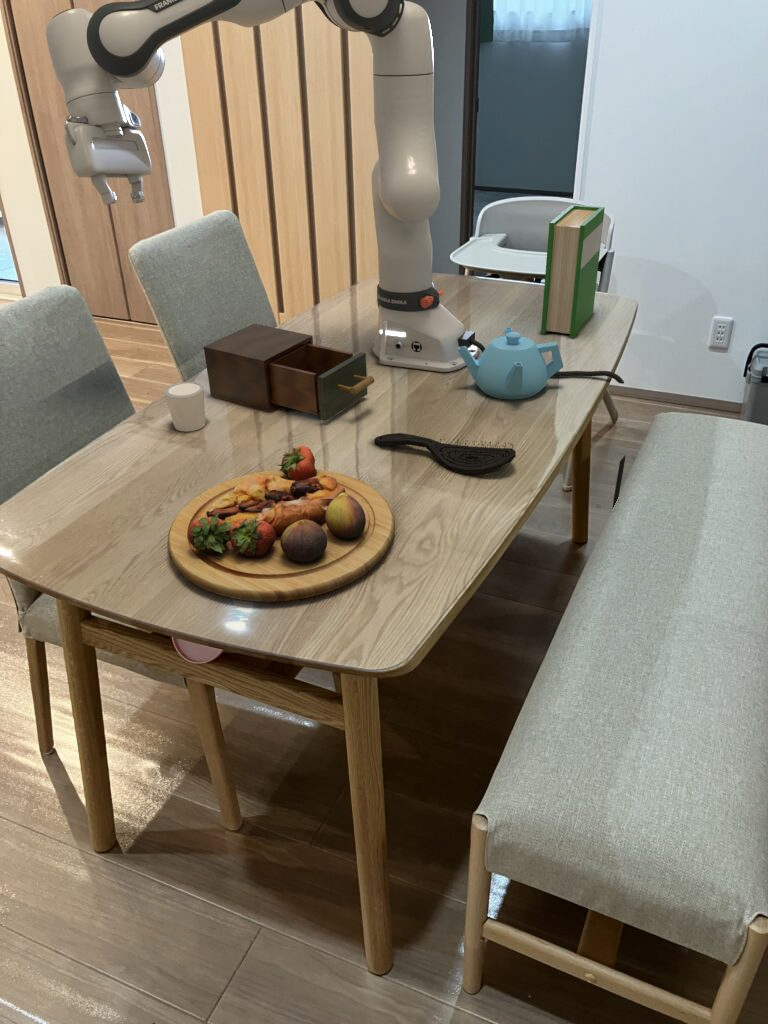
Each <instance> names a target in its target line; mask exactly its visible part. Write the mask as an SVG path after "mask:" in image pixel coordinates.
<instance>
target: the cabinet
mask: <svg viewBox="0 0 768 1024" xmlns="http://www.w3.org/2000/svg"><path fill="white" fill-rule="evenodd" d="M305 343H309V344H314V338H313V335H311V334H307V333H301V332H297V331H294V330H293V331H292V330H288V329H283V328H278V327H273V326H269V325H263V324H259V323H254V322H253V323H251V324H249V325H247V326H245V327H243V328H241V329H239V330H237V331H235V332H233V333H230V334H228V335H226V336H224V337H221V338H220V339H217V340H214V341H213V342H211V343H208V344H206V345H204V346H203V352H204V353H203V354H204V358H205V367H206V372H207V379H208V387H209V392H210V397H213V398H217V399H220V400H224V401H227V402H232V403H235V404H238V405H241V406H246V407H249V408H252V409H257V410H261V411H264V412H266V413H267V412H268V413H270V412H272V411H273V410H275V409H277V408H279V407H281V406H280V405H277V404H273V403H271V397H270V388H269V379H268V370H267V363H269V362H271V361H273V360H275V359H277V358H278V357H280V356H282V355H284V354H286V353H288V352H290V351H292V350H294V349H296V348H298V347H299V346H301V345H303V344H305Z"/></svg>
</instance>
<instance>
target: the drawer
mask: <svg viewBox="0 0 768 1024" xmlns="http://www.w3.org/2000/svg"><path fill="white" fill-rule="evenodd" d="M267 370H268V379H269V388H270V397H271V403H273V404H277V405H280V406H279V407H284V408H288V409H291V410H296V411H299V412H303V413H307V414H311V415H315V416H318V415H320V420H321V421H324V422H328V421H329V420H330V419H332V418H333V417H335V416H337V415H338V414H340V413H341V412H342V411H344V410H346V409H347V408H349V407H350V406H352V405H353V404H355V403H356V402H358V401H359V400H361V399H363V398H364V397H366V396H367V395H368V394H369V393H368V387H370V386H371V385H372V384H374V383H375V378H374V376H372V375H368V369H367V353H366V352H363V351H359V352H357V353H356V354H355V355H354V353H353V352H350V351H345V350H341V349H337V348H333V347H327V346H323V345H319V344H314V343H313V344H309V343H305V344H303V345H301V346H299V347H298V348H296V349H294V350H292V351H290V352H288V353H286V354H284V355H282V356H280V357H278V358H277V359H275V360H273V361H271V362H269V363H267Z"/></svg>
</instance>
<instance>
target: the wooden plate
mask: <svg viewBox="0 0 768 1024" xmlns="http://www.w3.org/2000/svg"><path fill="white" fill-rule="evenodd" d="M282 456H283V457H282V459H281V464H277V466H279V467H281V468H279V469H270V470H264V471H258V472H253V473H248V474H244V475H240V476H238V477H235V478H231V479H228V480H227V481H224V482H221V483H219V484H216V485H214V486H212V487H210V488H208V489H206V490H204V491H202V492H201V493H200V494H198V495H197V496H195V497H194V498H193V499H192V500H191V501H189V502H188V503H187V504H186V505H185V506H184V507H183V508H182V509H181V510H180V511H179V513H177V515H176V516H175V518H174V519H173V521H172V522H171V525H170V528H169V531H168V535H167V548H168V553H169V557H170V559H171V562H172V563H173V565H174V566H175V568H176V569H177V570H178V571H179V573H181V575H183V576H184V577H185V578H186V579H187V580H189V581H190V582H191V583H193V584H194V585H196V586H198V587H200V588H201V589H203V590H206V591H208V592H211V593H213V594H216V595H219V596H223V597H226V598H231V599H236V600H243V601H251V602H266V603H267V602H268V603H269V602H286V601H294V600H301V599H305V598H311V597H316V596H319V595H320V596H321V595H322V594H326V593H330V592H331V591H335V590H338V589H340V588H342V587H345V586H347V585H348V584H350V583H353V582H354V581H356V580H358V579H359V578H361V577H363V576H364V575H366V574H367V573H368V572H369V571H371V570H372V569H373V568H374V567H375V566H376V565H377V564H378V563H379V562H381V560H382V559H383V558H384V556H385V555H386V553H387V551H388V550H389V549H390V546H391V545H392V542H393V539H394V536H395V528H396V523H395V517H394V513H393V511H392V509H391V507H390V505H389V503H388V502H387V500H386V499H385V498H384V496H383V495H381V494H380V492H378V491H377V490H376V489H375V488H373V487H372V486H370V485H369V484H366V483H365V482H363V481H362V480H359V479H358V478H357V479H356V478H355V477H352V476H348V475H345V474H342V473H339V472H335V471H330V470H324V469H316V465H315V464H316V459H315V455H314V453H313V451H312V450H311V449H310V448H309V447H308V446H306V445H299V446H296V447H293V448H292V451H291V452H290V453H289V452H286V451H284V453H283V455H282Z"/></svg>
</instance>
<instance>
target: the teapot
mask: <svg viewBox="0 0 768 1024" xmlns="http://www.w3.org/2000/svg"><path fill="white" fill-rule="evenodd" d="M558 344H559V343H558V341H550V342H544V343H539V344H536V342H535V341H534V340H533V339H531V338H529V337H527V336H522V334H521V333H519V332H516V331H513V328H512V327H505V330H504V335H502V336H497V337H495V338H493V339H492V340H490V342H489V343H488V345H487V346H486V347H485V348H486V349H485V350H484V352H483V353H482V352H481V355H480V356H479V358H478V359H476V358H474V357H473V356H472V354H471V353H470V352H469V350H468V349H467V347H466V346H462V347H458V350H459V352H460V354H461V356H462V358H463V360H464V362H465V364H466V367H467V369H468V371H469V373H470V375H471V377H472V379H473V380H474V382H475V384H476V385H477V387H478V388H479V389H480V390H481V391H482V392H483V393H484V394H486V395H487V396H489V397H492V398H496V399H501V400H524V399H528V398H532V397H533V396H536V395H537V394H539V393H540V392H541V390H543V389H544V387H546V385H547V383H548V381H549V379H550V378H551V377H554V376H553V375H554V374H555V373H556V372H560V371H561V369H563V368H564V363H563V358H562V355H561V352H560V348H559V345H558ZM548 352H551V359H552V360H551V361H550V362H549V363H548V364H547V363H546V360H545V358H544V356H543V354H544V353H548Z"/></svg>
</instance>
